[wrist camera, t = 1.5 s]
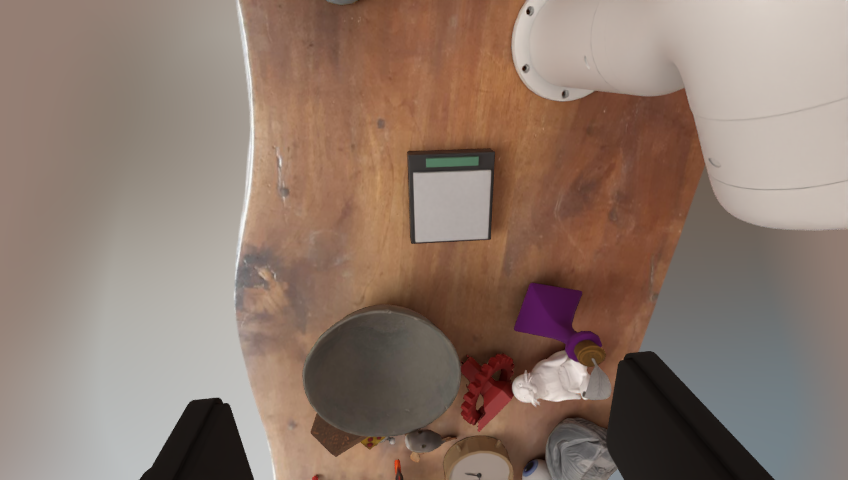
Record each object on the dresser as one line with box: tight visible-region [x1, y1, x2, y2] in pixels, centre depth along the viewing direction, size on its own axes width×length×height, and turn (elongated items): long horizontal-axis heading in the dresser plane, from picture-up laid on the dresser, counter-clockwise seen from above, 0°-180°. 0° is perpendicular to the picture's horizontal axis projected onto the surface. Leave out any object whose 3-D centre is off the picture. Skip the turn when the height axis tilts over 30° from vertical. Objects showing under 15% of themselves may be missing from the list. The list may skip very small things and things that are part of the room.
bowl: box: [303, 305, 461, 437], centre depth 53 cm, size 19×19×10 cm
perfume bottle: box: [514, 283, 611, 400], centre depth 50 cm, size 8×8×18 cm
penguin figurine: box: [512, 350, 591, 407], centre depth 58 cm, size 6×8×12 cm
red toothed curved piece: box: [460, 353, 514, 432], centre depth 60 cm, size 11×12×8 cm
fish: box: [405, 429, 457, 462], centre depth 58 cm, size 4×21×5 cm
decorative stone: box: [545, 418, 618, 480], centre depth 67 cm, size 15×14×10 cm
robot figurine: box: [311, 413, 395, 456], centre depth 60 cm, size 11×9×12 cm
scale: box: [407, 148, 495, 244], centre depth 49 cm, size 11×10×3 cm
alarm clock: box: [443, 436, 513, 480], centre depth 69 cm, size 11×5×15 cm
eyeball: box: [522, 459, 553, 480], centre depth 69 cm, size 6×6×6 cm
